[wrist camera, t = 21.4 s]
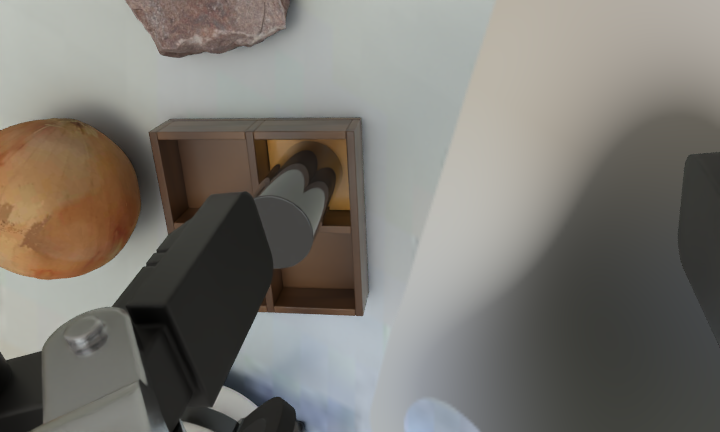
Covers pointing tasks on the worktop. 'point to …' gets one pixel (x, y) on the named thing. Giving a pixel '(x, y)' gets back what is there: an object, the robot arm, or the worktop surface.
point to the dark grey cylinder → (297, 200)
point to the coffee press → (241, 415)
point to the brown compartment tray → (245, 172)
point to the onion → (63, 199)
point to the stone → (208, 23)
